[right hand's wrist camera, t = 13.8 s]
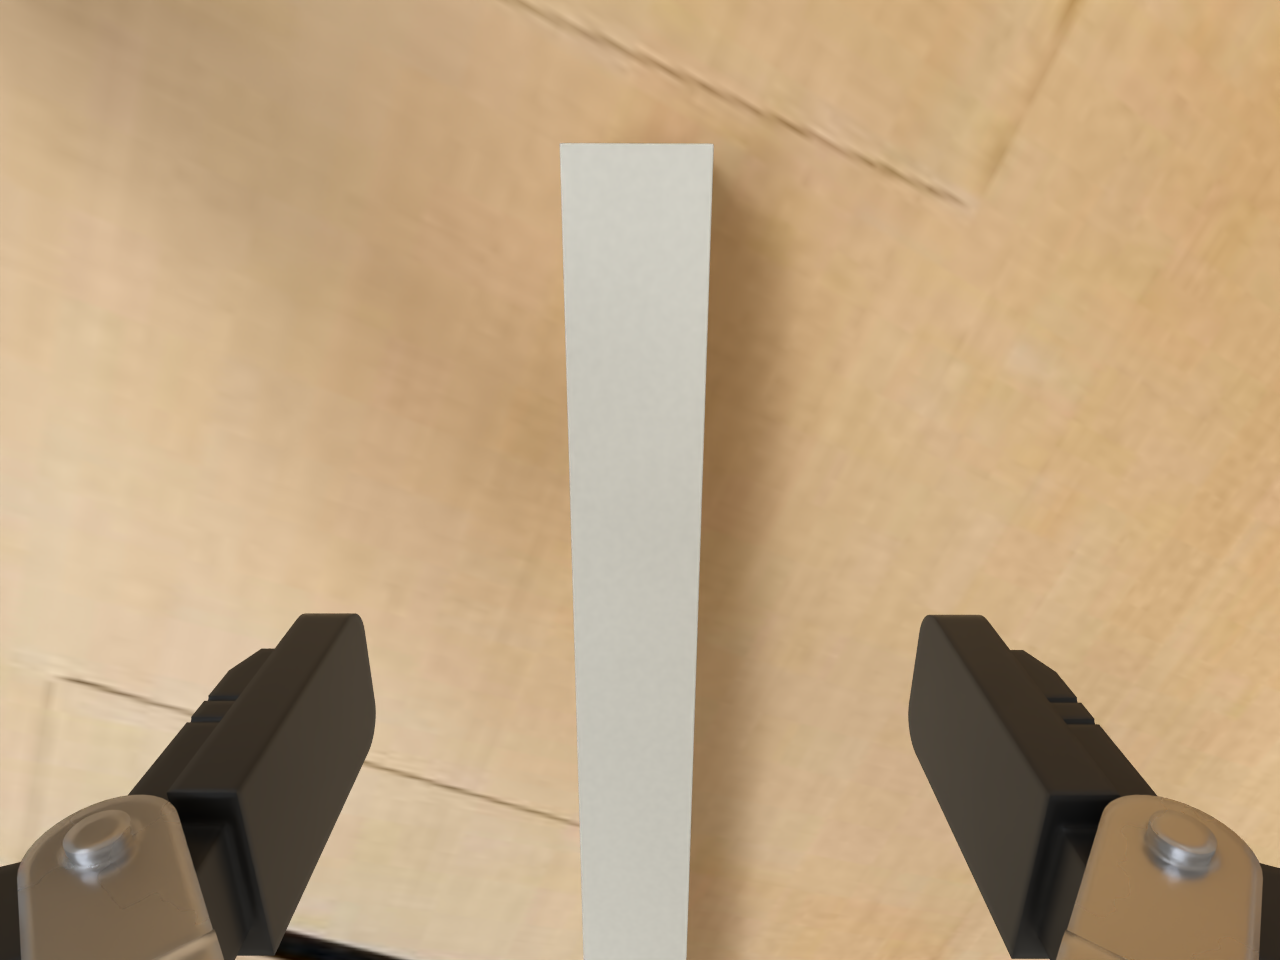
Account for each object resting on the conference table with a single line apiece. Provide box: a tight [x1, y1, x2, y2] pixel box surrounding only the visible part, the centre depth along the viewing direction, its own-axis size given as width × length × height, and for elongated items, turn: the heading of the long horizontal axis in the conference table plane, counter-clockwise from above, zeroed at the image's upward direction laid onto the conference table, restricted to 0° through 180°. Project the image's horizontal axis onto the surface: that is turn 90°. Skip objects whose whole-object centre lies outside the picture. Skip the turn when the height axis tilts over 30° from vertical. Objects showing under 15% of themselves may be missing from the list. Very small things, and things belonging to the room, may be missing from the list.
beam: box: [560, 143, 714, 960], centre depth 40 cm, size 66×5×7 cm, turn 0°
